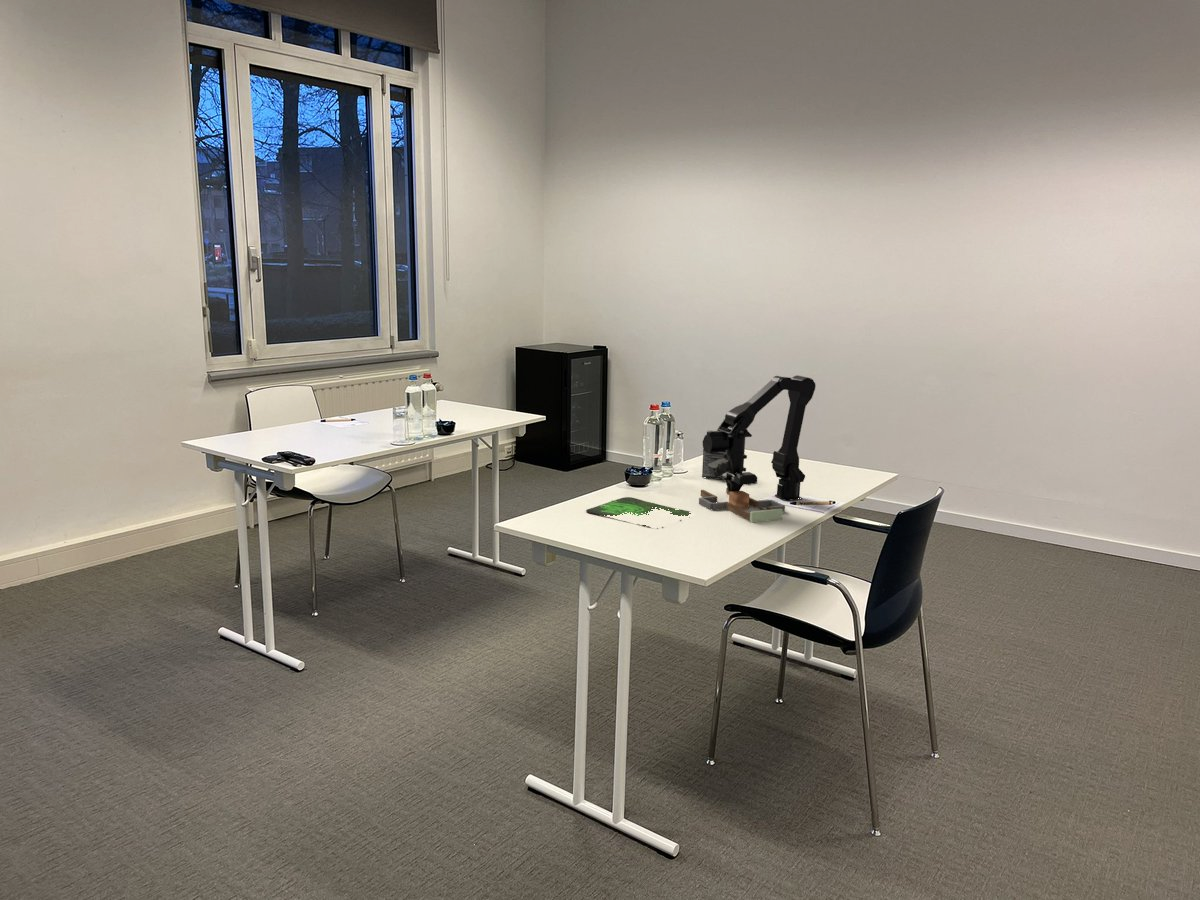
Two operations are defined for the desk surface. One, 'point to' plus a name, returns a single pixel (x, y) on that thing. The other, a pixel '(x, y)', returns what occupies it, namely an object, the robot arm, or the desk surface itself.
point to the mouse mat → (631, 508)
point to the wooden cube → (739, 499)
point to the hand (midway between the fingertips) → (732, 499)
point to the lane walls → (734, 508)
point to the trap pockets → (710, 504)
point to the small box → (709, 459)
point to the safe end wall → (766, 515)
